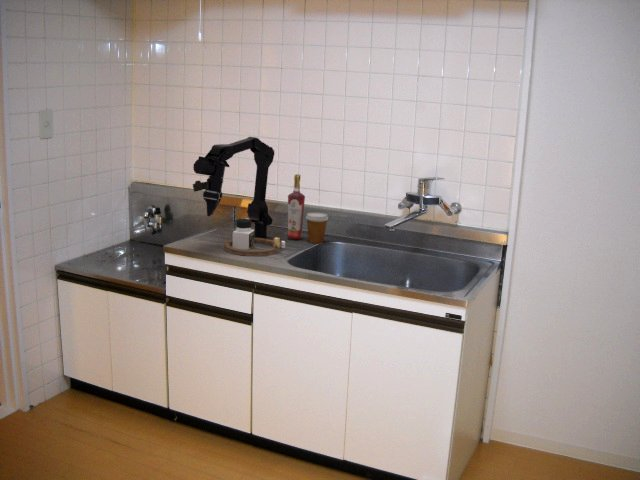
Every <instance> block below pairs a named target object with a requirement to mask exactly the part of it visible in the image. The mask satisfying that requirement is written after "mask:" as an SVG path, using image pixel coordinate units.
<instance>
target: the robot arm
mask: <svg viewBox="0 0 640 480" xmlns="http://www.w3.org/2000/svg"><path fill="white" fill-rule="evenodd" d="M247 150H250V151H251V153H253V160H254V162H255V164H256V174H255V181H254V182H255V183H254V191H253V200H252V201H251V203H248V204H247V210H246V213H247V217H248V219H250V220H251V224H253V225H254V226H253V230H254V238H264V239H269V238H270V237H271V235H270V234H268V226H270V225H272V224H273V218H272V217H271V216H270V215H269V208H268V205H267V204H268V203H267V202H266V194H267V186H268V175H269V168H270V166H271V164H273V161H274V157H275V150H274V148H273V147H272V146H269V144H267V143H265V142H263V141H261V140H260V139H259V138H258V137H256V136H255V137H254V136H248V137H247V138H243V139H240V140H237V141H234V142H231V143H228V144H225V143H223V144H221V143H219V144H218V143H217V144H213V145H212V146H211V149H210V150H209V151H208V152H207V154H206V155H205V156H198V158H197V159H196V160H195V162H194V163H193V167H192V168H193V171H194V173H195V174H196V175H197V174H198V175H203V176H208V178H206V181H201V180H195V182H194V183H193V184H192V188H193V192H195V193H196V192H200V191H203V190H204V191H203V193H202V198H203V200H204V201H205V202H206V216H207V217H211V216H212V215H213V214H214V212H216V211H215V210H216V209H217V207H218V206H219V204H220V203H221V201H222V199H223V194H224V193H223V192H222V187H223V184H224V177H225V171H226V168H230V164H229V163H228V160H230V159H232V158H233V157H234V155H236V154H238V153H241V152H245V151H247Z"/></svg>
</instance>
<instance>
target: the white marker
mask: <svg viewBox="0 0 640 480" xmlns="http://www.w3.org/2000/svg"><path fill="white" fill-rule="evenodd" d="M280 244H281V249H286V241H285V240H280Z"/></svg>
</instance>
